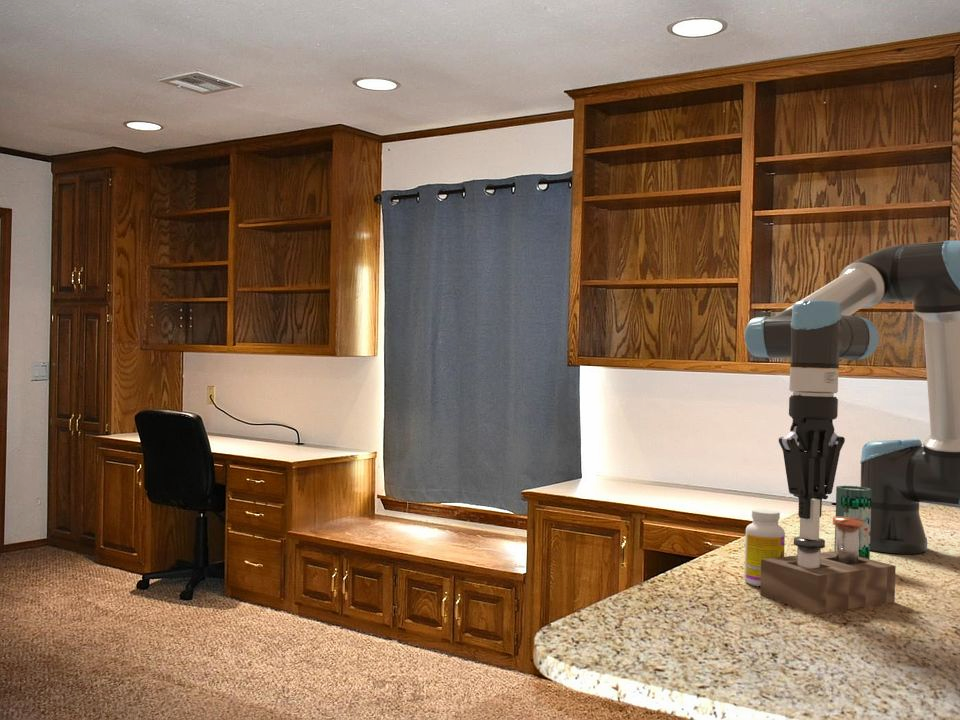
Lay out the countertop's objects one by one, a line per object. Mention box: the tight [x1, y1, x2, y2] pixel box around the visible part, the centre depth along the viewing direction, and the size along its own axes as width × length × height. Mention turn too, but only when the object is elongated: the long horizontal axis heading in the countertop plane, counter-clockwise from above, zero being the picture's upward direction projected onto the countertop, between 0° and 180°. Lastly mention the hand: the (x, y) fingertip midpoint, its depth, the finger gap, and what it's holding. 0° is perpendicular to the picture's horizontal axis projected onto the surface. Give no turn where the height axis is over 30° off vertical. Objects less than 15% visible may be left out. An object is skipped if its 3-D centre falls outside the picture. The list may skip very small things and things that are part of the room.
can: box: [834, 485, 872, 560], centre depth 176 cm, size 6×6×15 cm
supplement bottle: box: [743, 508, 786, 588], centre depth 159 cm, size 7×7×13 cm
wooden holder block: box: [759, 550, 897, 615], centre depth 150 cm, size 18×12×6 cm, turn 118°
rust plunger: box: [832, 516, 863, 565], centre depth 153 cm, size 5×5×9 cm
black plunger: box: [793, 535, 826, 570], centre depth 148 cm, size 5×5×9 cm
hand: (809, 537), depth 148 cm, fingers closed
